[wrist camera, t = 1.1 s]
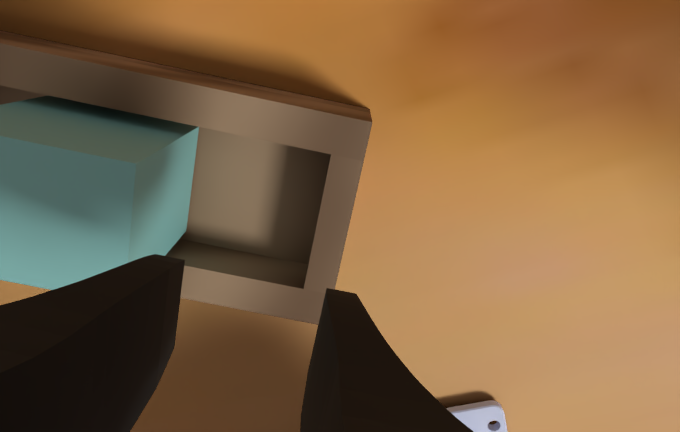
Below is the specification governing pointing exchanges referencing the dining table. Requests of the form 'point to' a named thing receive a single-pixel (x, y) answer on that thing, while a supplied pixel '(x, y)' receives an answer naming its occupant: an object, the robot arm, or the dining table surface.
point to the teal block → (88, 189)
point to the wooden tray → (228, 169)
